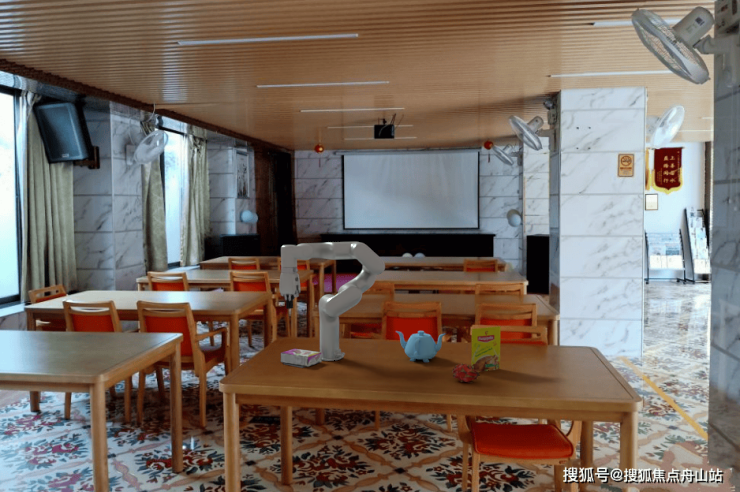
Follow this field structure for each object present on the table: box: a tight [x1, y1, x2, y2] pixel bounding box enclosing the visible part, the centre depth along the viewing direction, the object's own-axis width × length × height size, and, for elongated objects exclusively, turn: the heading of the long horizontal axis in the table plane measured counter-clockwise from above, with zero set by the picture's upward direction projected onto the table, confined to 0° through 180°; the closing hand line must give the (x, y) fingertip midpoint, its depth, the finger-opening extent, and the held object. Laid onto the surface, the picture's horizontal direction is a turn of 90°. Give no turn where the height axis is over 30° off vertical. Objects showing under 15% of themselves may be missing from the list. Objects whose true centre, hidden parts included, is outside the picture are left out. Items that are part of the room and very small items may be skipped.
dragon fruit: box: [451, 363, 481, 384], centre depth 254 cm, size 8×8×12 cm
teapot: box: [395, 330, 446, 363], centre depth 291 cm, size 16×20×14 cm
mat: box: [282, 362, 307, 369], centre depth 283 cm, size 12×9×1 cm
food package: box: [470, 326, 502, 373], centre depth 271 cm, size 15×1×20 cm, turn 112°
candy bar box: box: [280, 348, 322, 368], centre depth 284 cm, size 11×5×16 cm
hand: (289, 308), depth 286 cm, fingers closed
